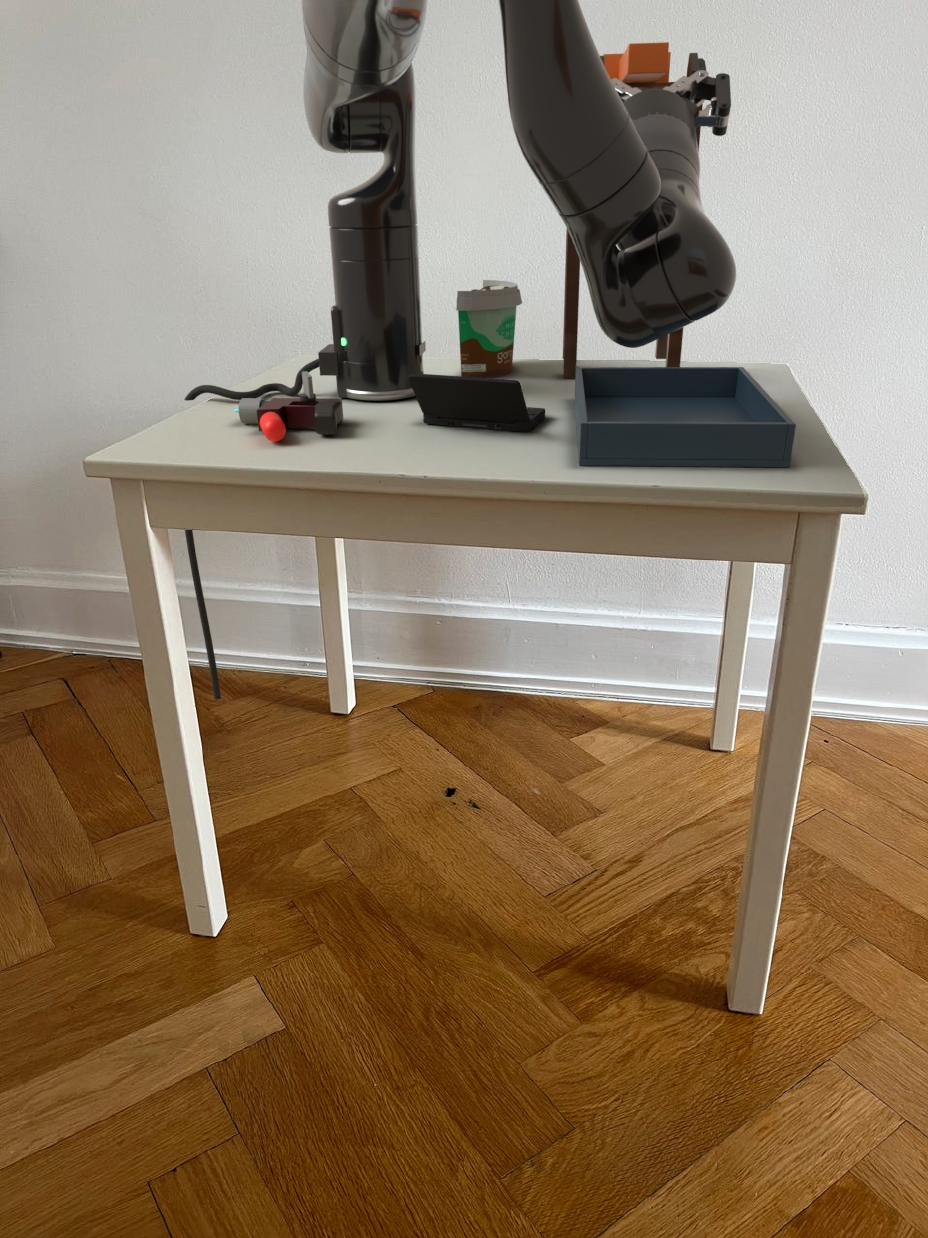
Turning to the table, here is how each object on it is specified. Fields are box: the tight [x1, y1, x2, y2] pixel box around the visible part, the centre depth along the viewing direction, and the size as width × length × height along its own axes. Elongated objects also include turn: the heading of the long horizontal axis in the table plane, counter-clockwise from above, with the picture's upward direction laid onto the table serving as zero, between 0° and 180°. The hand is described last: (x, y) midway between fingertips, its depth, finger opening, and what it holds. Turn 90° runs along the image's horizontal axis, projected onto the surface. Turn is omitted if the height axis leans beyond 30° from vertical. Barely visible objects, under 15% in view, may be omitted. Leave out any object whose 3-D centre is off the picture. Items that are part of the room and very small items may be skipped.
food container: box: [455, 279, 523, 378], centre depth 109 cm, size 12×6×10 cm, turn 164°
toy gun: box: [232, 371, 345, 442], centre depth 86 cm, size 10×12×5 cm
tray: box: [574, 366, 797, 468], centre depth 84 cm, size 17×23×4 cm
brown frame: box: [562, 81, 704, 380], centre depth 105 cm, size 14×14×30 cm
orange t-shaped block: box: [602, 41, 672, 83], centre depth 92 cm, size 7×22×3 cm, turn 175°
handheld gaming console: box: [409, 373, 546, 433], centre depth 87 cm, size 12×7×10 cm
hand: (645, 64), depth 85 cm, fingers open, 8 cm apart
